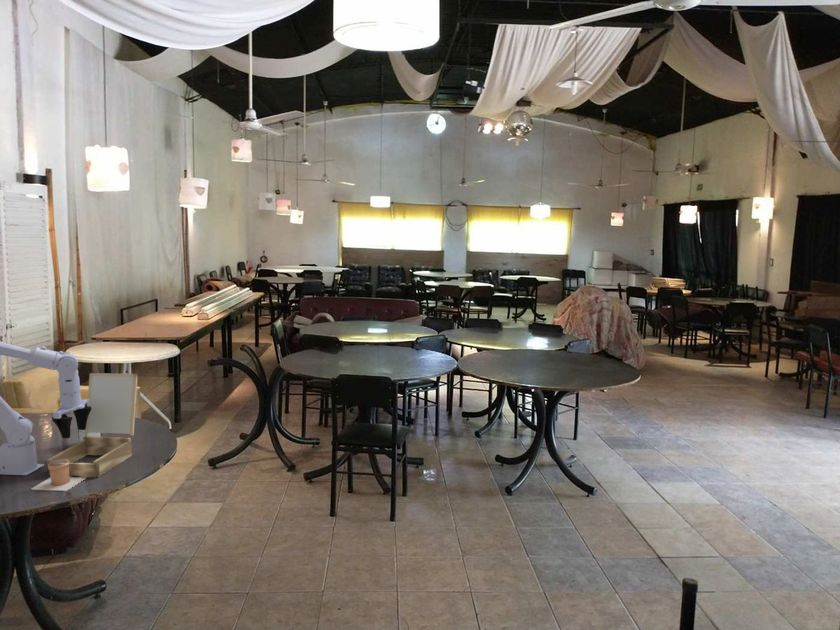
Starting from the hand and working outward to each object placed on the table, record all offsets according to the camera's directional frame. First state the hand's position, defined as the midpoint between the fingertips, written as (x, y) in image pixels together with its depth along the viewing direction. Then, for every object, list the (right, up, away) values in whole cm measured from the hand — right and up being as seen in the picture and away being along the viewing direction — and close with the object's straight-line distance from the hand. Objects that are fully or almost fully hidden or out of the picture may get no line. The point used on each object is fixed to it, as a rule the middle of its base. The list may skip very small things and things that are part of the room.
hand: (74, 433), depth 201 cm
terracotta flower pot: (+4, -12, -15) cm, 20 cm away
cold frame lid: (+8, +8, +8) cm, 14 cm away
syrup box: (-4, -7, +18) cm, 20 cm away
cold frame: (+6, -10, -1) cm, 12 cm away
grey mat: (+4, -12, -15) cm, 20 cm away
